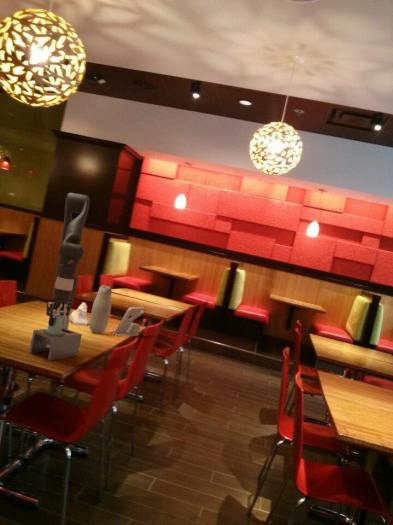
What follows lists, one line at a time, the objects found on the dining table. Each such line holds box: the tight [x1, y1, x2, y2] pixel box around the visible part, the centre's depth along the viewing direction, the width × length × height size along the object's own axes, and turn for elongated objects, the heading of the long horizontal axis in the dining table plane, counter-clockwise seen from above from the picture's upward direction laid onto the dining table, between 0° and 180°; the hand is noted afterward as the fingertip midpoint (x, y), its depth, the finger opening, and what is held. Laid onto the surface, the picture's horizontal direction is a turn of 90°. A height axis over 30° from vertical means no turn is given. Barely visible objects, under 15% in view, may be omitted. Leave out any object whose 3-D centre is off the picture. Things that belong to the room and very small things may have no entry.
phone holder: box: [111, 306, 146, 337], centre depth 270 cm, size 17×10×18 cm, turn 152°
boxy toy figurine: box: [43, 314, 64, 348], centre depth 195 cm, size 6×6×14 cm
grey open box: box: [28, 328, 83, 362], centre depth 197 cm, size 18×12×10 cm, turn 156°
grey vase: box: [88, 284, 112, 334], centre depth 256 cm, size 10×10×28 cm
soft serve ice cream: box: [69, 302, 90, 327], centre depth 271 cm, size 12×15×14 cm
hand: (55, 325), depth 194 cm, fingers open, 5 cm apart
